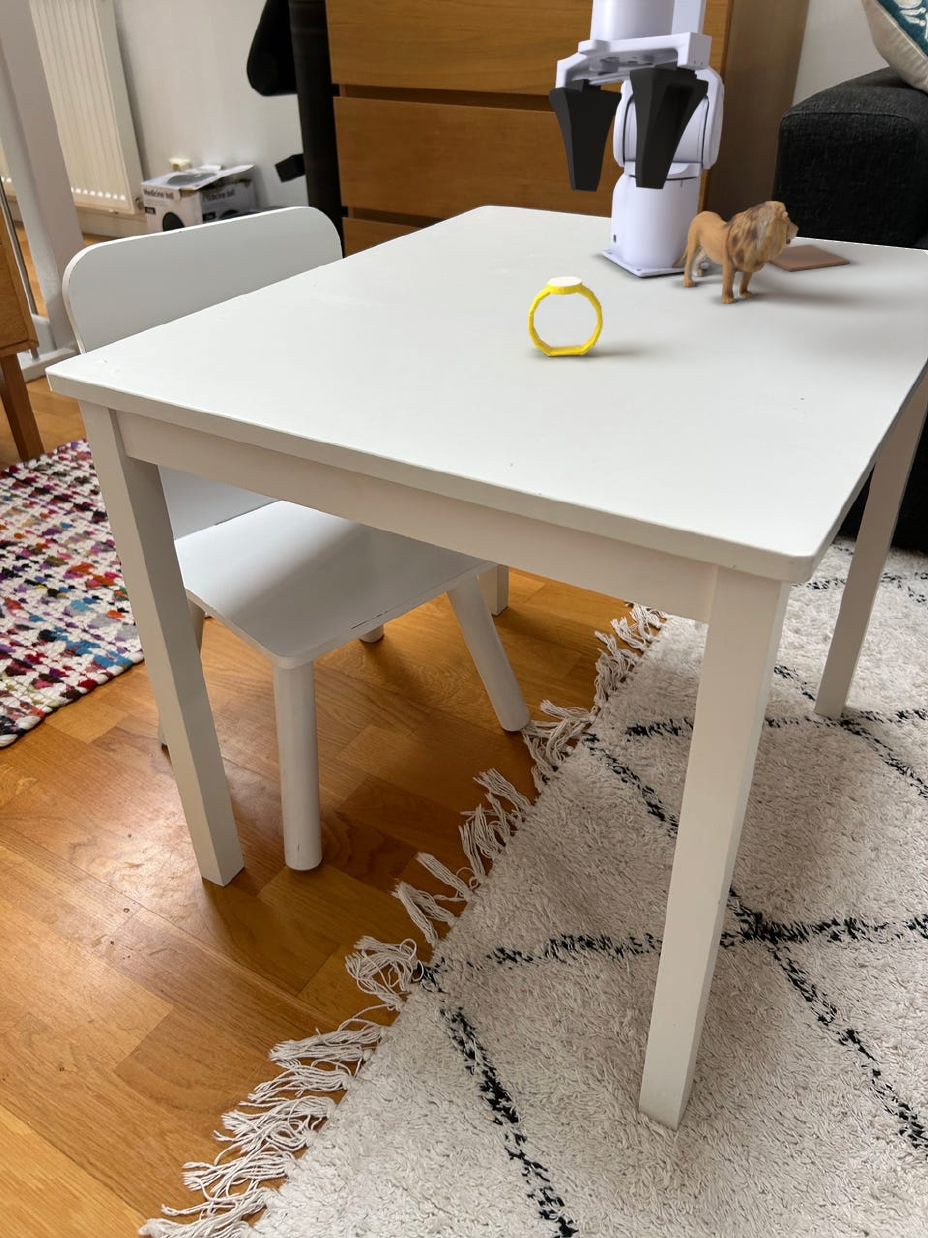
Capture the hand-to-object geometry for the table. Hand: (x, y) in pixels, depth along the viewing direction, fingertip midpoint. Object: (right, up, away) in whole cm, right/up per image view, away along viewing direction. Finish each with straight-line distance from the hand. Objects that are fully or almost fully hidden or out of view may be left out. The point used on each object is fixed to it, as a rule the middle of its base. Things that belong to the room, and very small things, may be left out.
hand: (615, 189), depth 72 cm
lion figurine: (+14, -1, +21) cm, 25 cm away
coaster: (+24, +6, +29) cm, 38 cm away
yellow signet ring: (-3, -10, +8) cm, 13 cm away
